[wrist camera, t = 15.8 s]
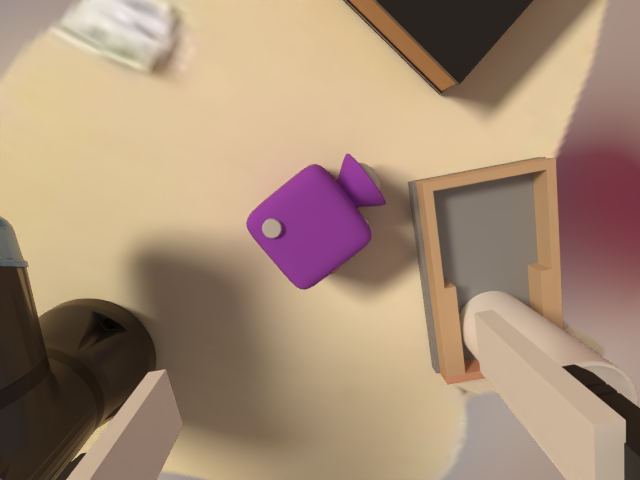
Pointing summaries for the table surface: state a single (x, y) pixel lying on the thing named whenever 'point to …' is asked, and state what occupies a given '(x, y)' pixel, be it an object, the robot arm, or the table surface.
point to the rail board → (485, 249)
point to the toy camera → (316, 220)
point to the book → (440, 32)
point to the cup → (542, 338)
